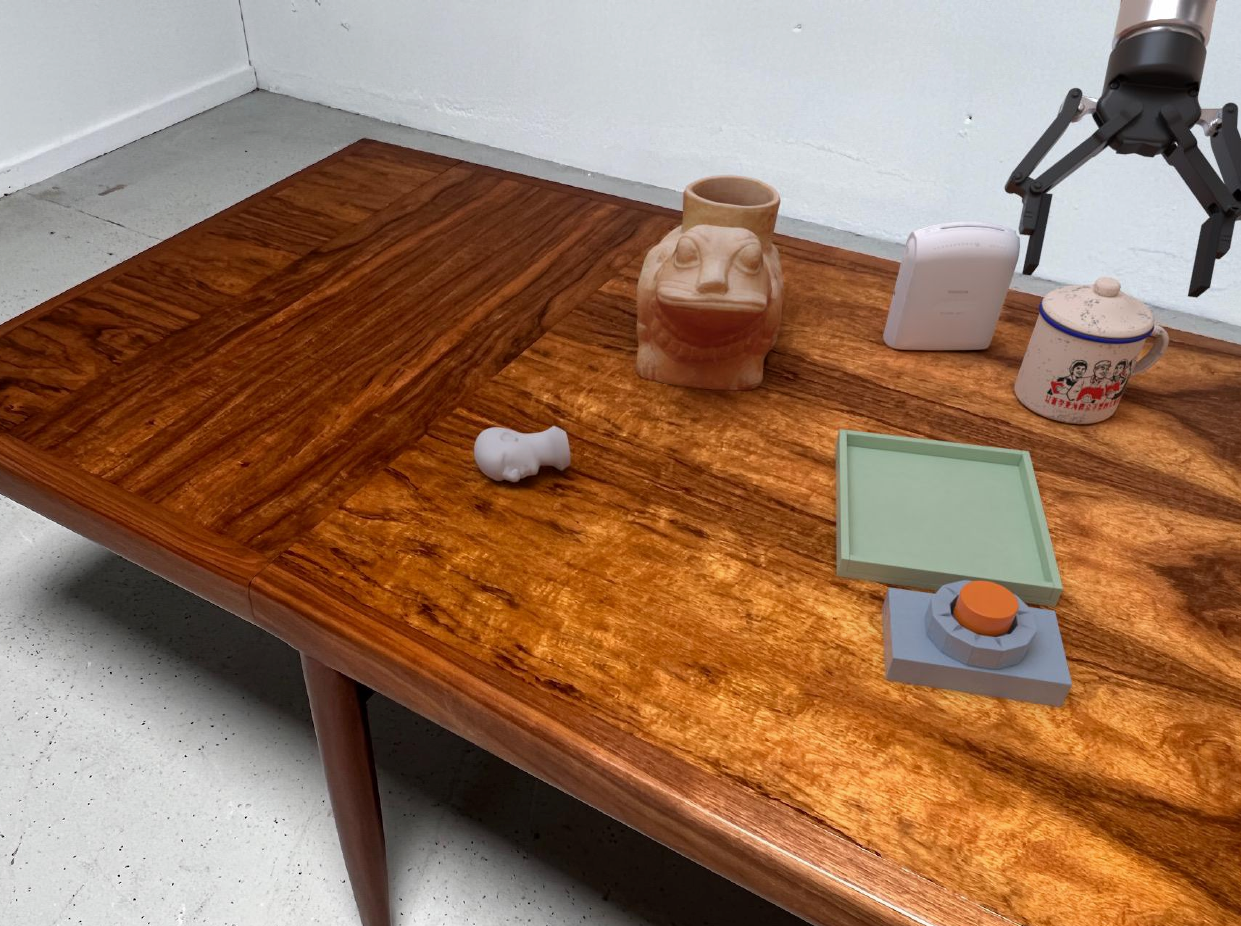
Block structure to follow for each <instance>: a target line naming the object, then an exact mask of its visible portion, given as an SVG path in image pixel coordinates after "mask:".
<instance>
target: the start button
mask: <svg viewBox="0 0 1241 926" xmlns="http://www.w3.org/2000/svg"><path fill="white" fill-rule="evenodd" d="M1018 608H1019V604H1018V600H1017V598H1016V597H1015V595H1014V594H1013V593H1012V592H1011V591H1009V590H1008V589H1007V588H1005V587H1003V586H1001V585H999V584H996V583H993V582H989V581H973V582H969V583H967V584H966V585H964V586H963V587H962V589H961V591H960V593H959V596H958V599H957V602H956V604H955V607H954V616H955V619H956V620H957V622H958V623H959V624H960V625H961V626H962V627H964V628H966V629H968V630H970V631H972V632H974V633H976V634H978V635H983V636H990V637H997V636H1001V635H1003V634H1005V633H1007V632H1008V631H1009V630H1010V628H1011V625H1012V623H1013V621H1014V618H1015V616H1016V613H1017V611H1018Z"/></svg>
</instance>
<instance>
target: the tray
mask: <svg viewBox="0 0 1241 926" xmlns="http://www.w3.org/2000/svg"><path fill="white" fill-rule="evenodd" d="M834 447H835V520H836V521H835V529H836V530H835V535H836V536H835V542H836V546H835V547H836V548H835V549H836V554H835V555H836V577H838V578H844V579H845V578H846V579H853V580H858V581H859V580H860V581H868V582H873V583H874V582H875V583H882V584H889V585H895V586H903V587H910V588H917V589H925V590H931V591H938V590H939V589H940V588H941V587H942V586H943V585H946V584H950V583H954V582H958V581H963V580H969V581H989V582H993V583H996V584H999V585H1001V586H1003V587H1005V588H1007V589H1008V590H1009V591H1011V592H1012V593H1013V594H1015V595H1017V596H1018V597H1019V598H1020V599H1021V600H1022V601H1023V602H1024V603H1025V604H1032V605H1038V606H1045V607H1053V608H1055V607H1056V606H1057V604H1058V602H1059V599H1060V597H1061V595H1062V593H1063V590H1064V587H1063V584H1062V583H1063V582H1062V579H1061V575H1060V574H1061V573H1060V571H1059V566H1058V562H1057V558H1056V554H1055V550H1054V546H1053V543H1052V538H1051V534H1050V529H1049V526H1048V522H1047V518H1046V515H1045V510H1044V506H1043V502H1042V498H1041V495H1040V490H1039V486H1038V483H1037V478H1036V473H1035V470H1034V466H1033V461H1032V457H1031V454H1030V451H1029V450H1021V449H1013V448H1005V447H996V446H995V447H994V446H988V445H978V444H969V443H963V442H952V441H945V440H937V439H936V440H935V439H929V438H928V439H927V438H921V437H920V438H919V437H910V436H901V435H893V434H884V433H876V432H868V431H860V430H859V431H858V430H851V429H850V430H849V429H844V428H843V429H842V428H839V430H838V434H837V438H836V441H835V446H834Z"/></svg>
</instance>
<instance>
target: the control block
mask: <svg viewBox="0 0 1241 926" xmlns="http://www.w3.org/2000/svg"><path fill="white" fill-rule="evenodd" d="M969 582H973V581H969V580H963V581H958V582H954V583H950V584H946V585H943V586H942V587H941V588H940V589H939V590H936V592H935V593H934V592H933V593H931V592H926V591H925V592H924V591H919V590H918V591H917V590H910V589H903V588H897V587H891V586H890V587H888V588H887V591H886V594H885V597H884V600H883V605H882V607H881V619H882V639H883V640H882V641H883V656H884V658H883V659H884V675H885V676H884V677H885V680H886V681H890V682H897V683H903V684H910V685H915V686H921V687H929V688H935V689H942V690H948V691H955V692H961V693H968V694H974V695H979V696H988V697H993V698H1001V699H1004V700H1005V699H1006V700H1012V701H1019V702H1026V703H1031V704H1037V705H1044V706H1045V705H1046V706H1050V707H1051V706H1052V707H1058V708H1062V707H1063V704H1064V702H1065V700H1066V698H1067V696H1068V694H1069V693H1070V691H1071V689H1072V686H1073V682H1072V678H1071V672H1070V670H1069V665H1068V660H1067V656H1066V652H1065V647H1064V643H1063V639H1062V634H1061V629H1060V626H1059V622H1058V618H1057V614H1056V611H1055V610H1053V609H1045V608H1038V607H1032V606H1028V605H1027V603H1024V602H1023V601H1022V600H1021V599H1020V598H1019V597H1018V596H1017V595H1015V594H1014V595H1015V597H1016V598H1017V600H1018V604H1019V608H1018V611H1017V613H1016V616H1015V618H1014V621H1013V623H1012V625H1011V628H1010V630H1009V631H1008V632H1007V633H1005V634H1003V635H1001V636H997V637H990V636H983V635H978V634H976V633H974V632H972V631H970V630H968V629H966V628H964V627H962V626H961V625H960V624H959V623H958V622H957V620H956V619H955V616H954V607H955V604H956V602H957V599H958V596H959V593H960V591H961V589H962V587H963V586H964V585H966V584H967V583H969Z"/></svg>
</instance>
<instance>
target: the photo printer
mask: <svg viewBox="0 0 1241 926" xmlns="http://www.w3.org/2000/svg"><path fill="white" fill-rule="evenodd" d="M1020 239H1021V238H1020V236H1019V235H1018V234H1017V230H1014V229H1011V228H1009V227H1006V226H1003V225H999V224H994V223H991V222H990V223H989V222H983V221H982V222H981V221H952V222H951V221H950V222H942V223H937V224H933V225H929V226H924V227H922V228H919V229H916V230H913V231H911V232H910V233H909V235H908V237H907V240H906V243H905V247H904V250H903V254H902V257H901V262H900V265H899V269H898V273H897V277H896V281H895V286H894V288H893V289H894V290H893V294H892V298H891V302H890V306H889V310H888V314H887V318H886V322H885V325H884V330H883V334H882V340H883V342H884V343H885V345H886V346H888V347H889V348H891V349H895V350H903V351H904V350H905V351H976V350H986V349H988V348H989V347H990V345H991V343H992V340H993V337H994V334H995V331H996V330H997V329H996V328H997V325H998V322H999V319H1000V316H1001V314H1002V310H1003V308H1004V304H1005V302H1006V298H1007V295H1008V292H1009V288H1010V286H1011V283H1012V280H1013V277H1014V273H1015V271H1016V268H1017V264H1018V261H1019V257H1020V252H1021V251H1020V250H1021V240H1020Z"/></svg>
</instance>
